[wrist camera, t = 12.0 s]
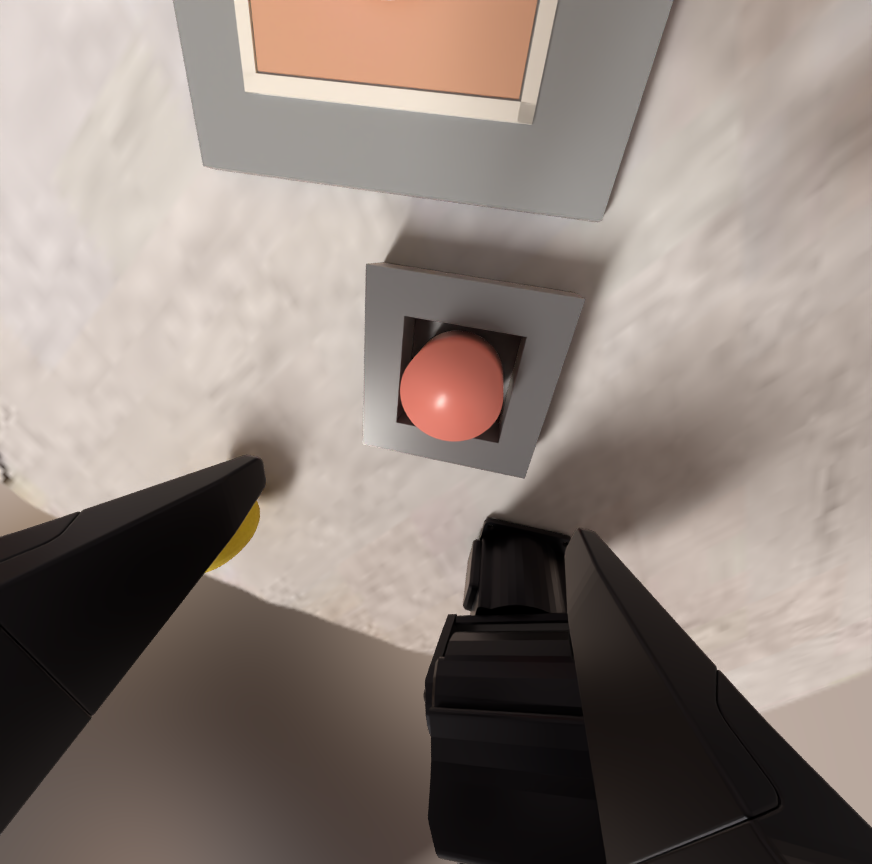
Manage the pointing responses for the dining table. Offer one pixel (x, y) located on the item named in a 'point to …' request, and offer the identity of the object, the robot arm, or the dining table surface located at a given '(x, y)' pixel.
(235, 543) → the lemon
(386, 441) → the button frame
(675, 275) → the dining table surface
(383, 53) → the picture board
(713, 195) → the dining table surface
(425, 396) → the button
